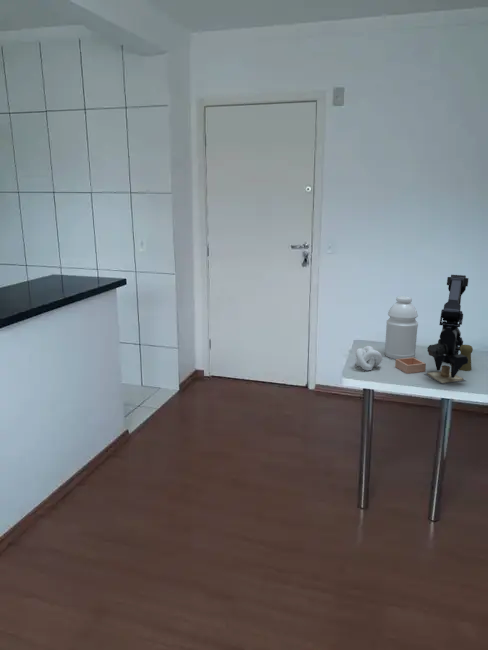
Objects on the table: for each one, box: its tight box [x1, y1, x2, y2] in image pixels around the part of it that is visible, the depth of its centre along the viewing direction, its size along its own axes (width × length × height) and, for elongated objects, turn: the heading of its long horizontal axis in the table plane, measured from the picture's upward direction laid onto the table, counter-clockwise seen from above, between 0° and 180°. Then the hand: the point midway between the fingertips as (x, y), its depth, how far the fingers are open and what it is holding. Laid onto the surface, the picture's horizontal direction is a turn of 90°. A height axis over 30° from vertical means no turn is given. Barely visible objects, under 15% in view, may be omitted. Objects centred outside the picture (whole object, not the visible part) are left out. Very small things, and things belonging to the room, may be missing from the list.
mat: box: [423, 373, 467, 385], centre depth 216 cm, size 12×12×1 cm
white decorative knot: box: [355, 345, 383, 372], centre depth 228 cm, size 11×12×9 cm
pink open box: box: [394, 357, 427, 375], centre depth 225 cm, size 9×9×4 cm
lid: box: [426, 364, 464, 383], centre depth 215 cm, size 10×10×5 cm
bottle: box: [384, 295, 419, 360], centre depth 242 cm, size 14×14×28 cm
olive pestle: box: [459, 344, 474, 372], centre depth 225 cm, size 6×6×11 cm
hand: (445, 373), depth 216 cm, fingers open, 9 cm apart
